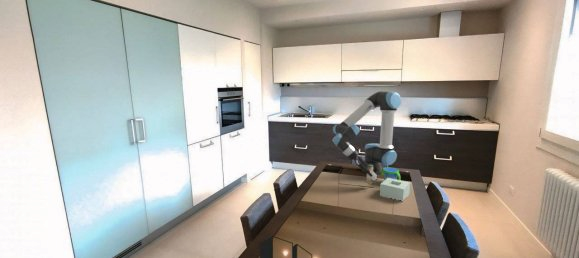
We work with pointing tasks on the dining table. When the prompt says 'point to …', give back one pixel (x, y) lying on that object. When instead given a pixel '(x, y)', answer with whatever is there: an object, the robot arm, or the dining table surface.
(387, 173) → the snack cup
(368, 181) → the wooden peg
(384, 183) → the block
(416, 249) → the dining table surface
